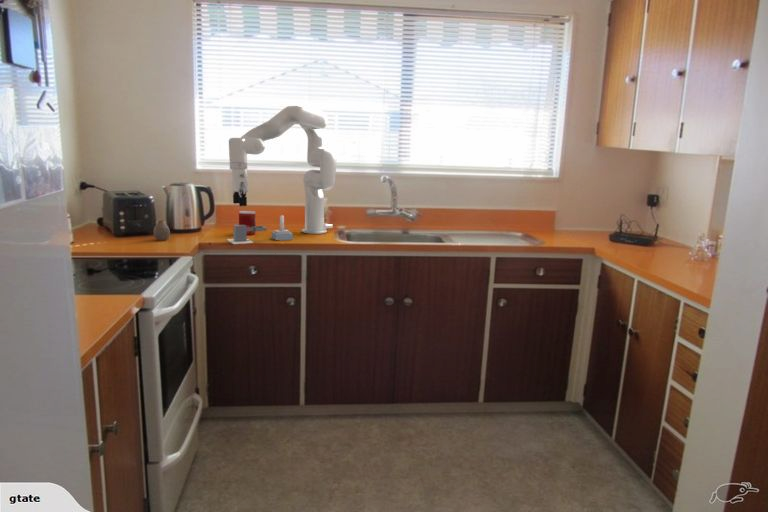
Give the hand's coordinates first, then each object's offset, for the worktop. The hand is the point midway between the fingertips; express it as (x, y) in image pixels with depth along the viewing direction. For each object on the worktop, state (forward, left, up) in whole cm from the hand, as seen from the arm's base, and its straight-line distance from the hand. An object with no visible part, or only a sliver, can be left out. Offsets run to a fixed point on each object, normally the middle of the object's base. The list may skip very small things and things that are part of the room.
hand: (240, 204), depth 249 cm
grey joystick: (-20, 0, -17) cm, 26 cm away
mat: (0, 0, -17) cm, 17 cm away
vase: (+31, -16, -17) cm, 39 cm away
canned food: (-9, -19, -17) cm, 27 cm away
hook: (-4, 0, -17) cm, 17 cm away
